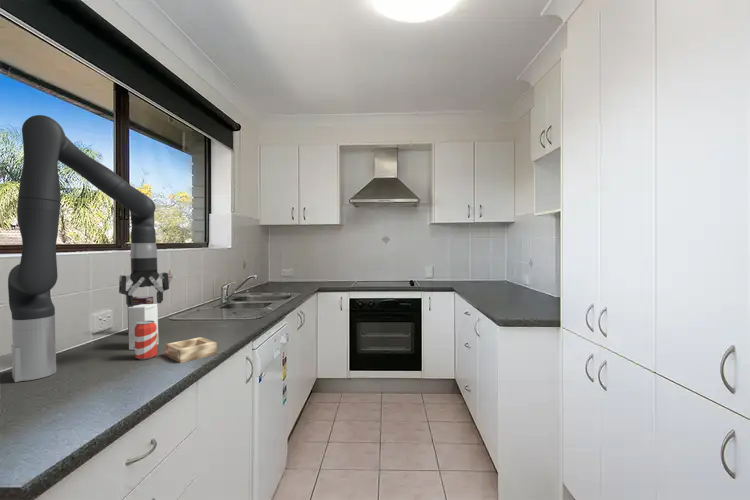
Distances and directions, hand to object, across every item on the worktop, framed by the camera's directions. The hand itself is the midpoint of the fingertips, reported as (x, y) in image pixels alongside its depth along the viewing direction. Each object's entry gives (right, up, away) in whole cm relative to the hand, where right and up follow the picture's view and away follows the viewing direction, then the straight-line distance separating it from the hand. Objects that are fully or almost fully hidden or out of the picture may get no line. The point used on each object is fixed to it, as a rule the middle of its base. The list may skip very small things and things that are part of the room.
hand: (145, 304), depth 124 cm
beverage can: (0, -18, 0) cm, 18 cm away
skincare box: (-9, -18, +13) cm, 24 cm away
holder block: (+14, -18, +3) cm, 23 cm away
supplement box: (-22, -18, +32) cm, 42 cm away
